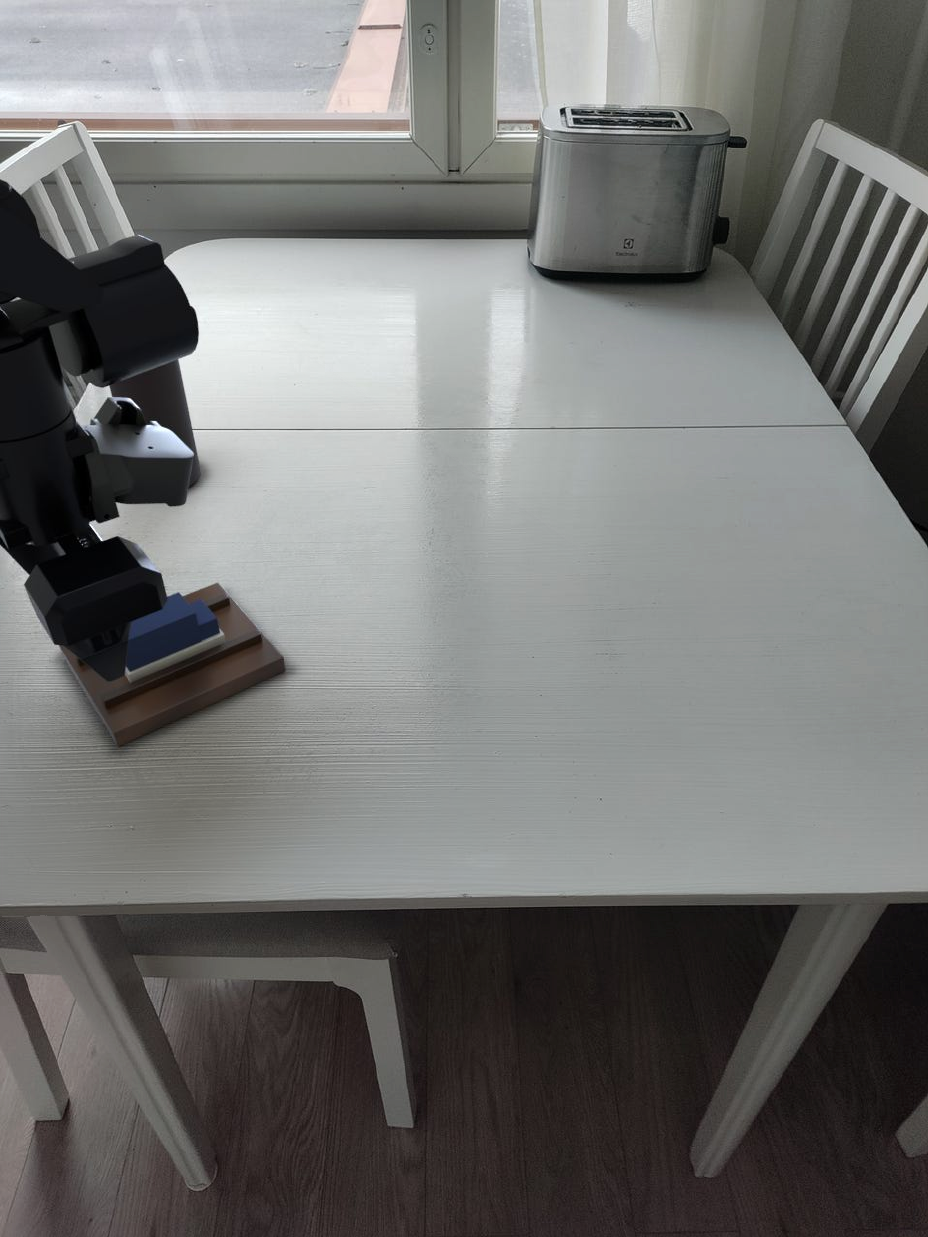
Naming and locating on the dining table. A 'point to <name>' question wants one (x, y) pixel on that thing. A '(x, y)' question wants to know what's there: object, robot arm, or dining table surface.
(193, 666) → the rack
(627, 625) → the dining table surface
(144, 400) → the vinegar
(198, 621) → the stepped navy block
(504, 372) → the dining table surface
